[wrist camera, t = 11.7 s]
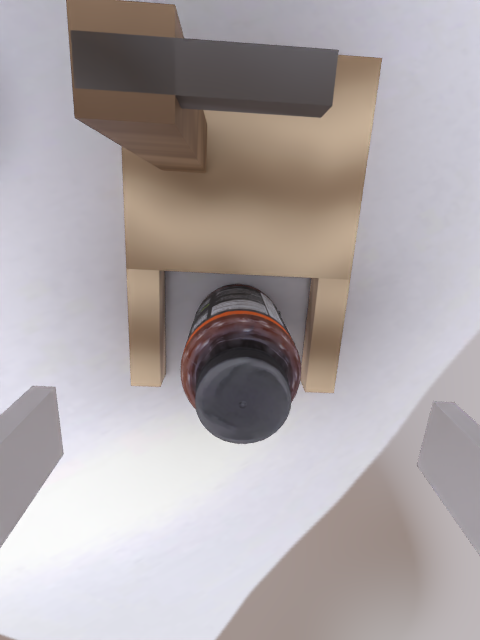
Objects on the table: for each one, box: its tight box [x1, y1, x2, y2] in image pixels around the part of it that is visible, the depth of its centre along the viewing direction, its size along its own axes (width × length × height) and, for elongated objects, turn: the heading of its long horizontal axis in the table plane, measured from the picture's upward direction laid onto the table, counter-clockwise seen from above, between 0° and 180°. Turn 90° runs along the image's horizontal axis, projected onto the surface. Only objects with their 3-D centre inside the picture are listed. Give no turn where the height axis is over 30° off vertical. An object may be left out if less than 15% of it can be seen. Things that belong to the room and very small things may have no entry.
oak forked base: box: [122, 55, 382, 393], centre depth 23 cm, size 20×14×2 cm
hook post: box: [66, 0, 339, 173], centre depth 14 cm, size 2×6×12 cm, turn 87°
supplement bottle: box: [181, 284, 301, 444], centre depth 20 cm, size 6×6×11 cm
